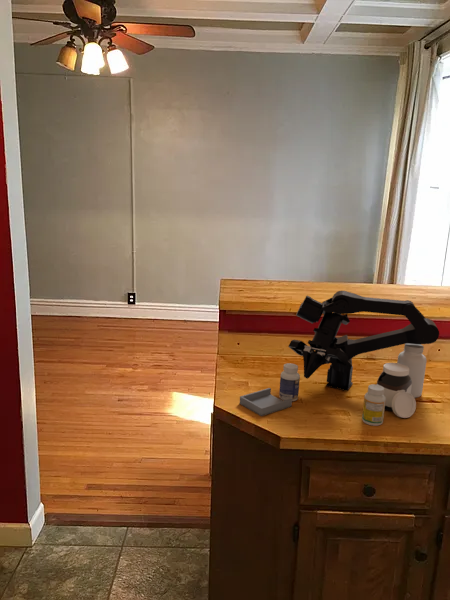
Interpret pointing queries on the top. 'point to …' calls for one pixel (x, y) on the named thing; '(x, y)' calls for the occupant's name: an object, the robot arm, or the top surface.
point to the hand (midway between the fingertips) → (305, 377)
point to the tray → (264, 402)
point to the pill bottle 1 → (289, 382)
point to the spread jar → (397, 389)
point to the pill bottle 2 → (414, 366)
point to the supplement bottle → (374, 405)
